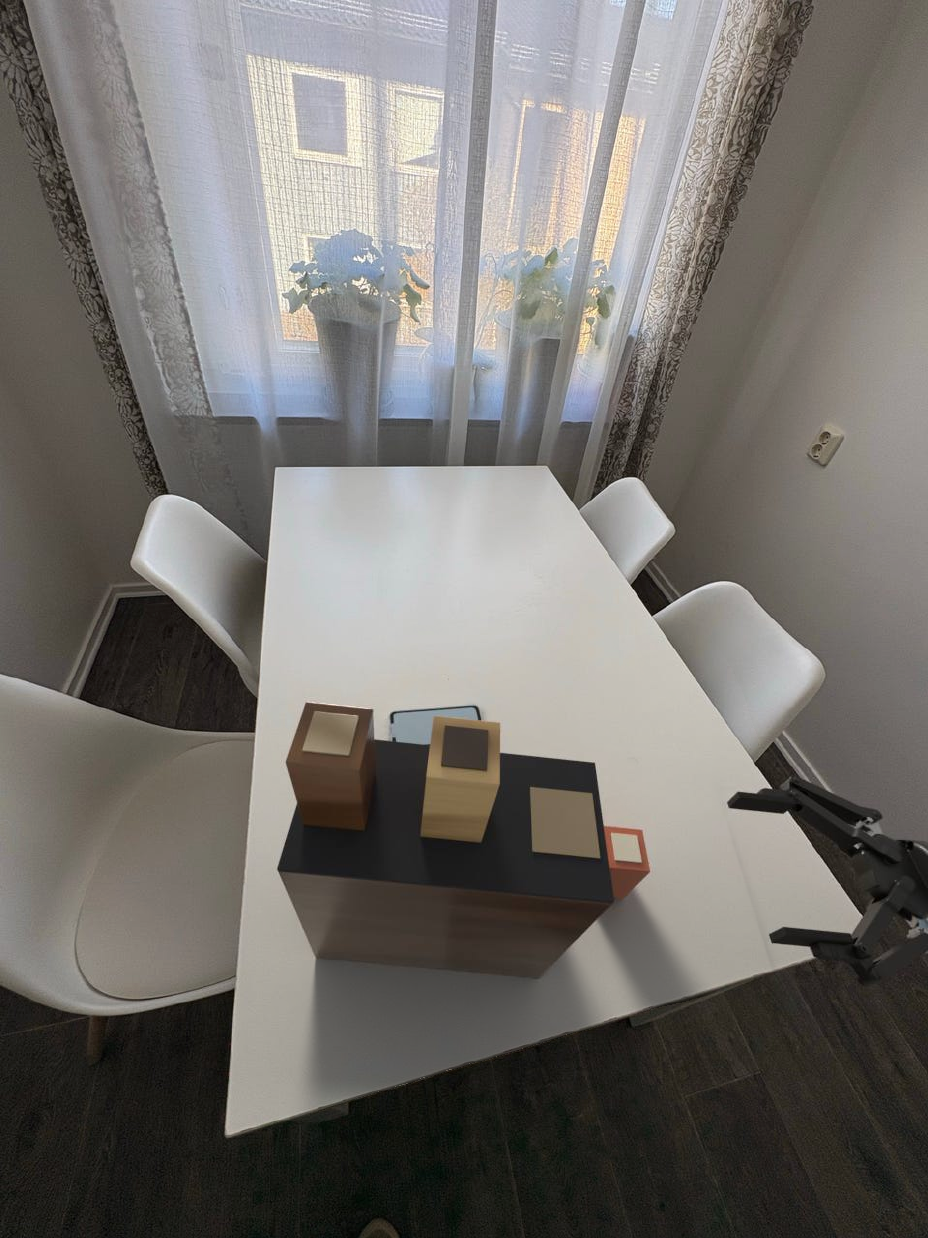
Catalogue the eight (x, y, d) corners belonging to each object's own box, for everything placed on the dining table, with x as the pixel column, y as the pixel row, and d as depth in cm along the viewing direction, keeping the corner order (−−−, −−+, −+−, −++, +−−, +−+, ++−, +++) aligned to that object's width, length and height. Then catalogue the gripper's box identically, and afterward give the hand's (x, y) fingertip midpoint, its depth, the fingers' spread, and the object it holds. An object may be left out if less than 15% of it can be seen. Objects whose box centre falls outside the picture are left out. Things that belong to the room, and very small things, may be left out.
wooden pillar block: (481, 843, 42) (500, 783, 34) (420, 836, 42) (426, 775, 34) (483, 785, 45) (500, 720, 38) (426, 779, 45) (433, 713, 38)
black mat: (612, 904, 40) (615, 902, 39) (277, 871, 39) (276, 868, 39) (594, 764, 48) (595, 761, 48) (318, 735, 48) (317, 732, 47)
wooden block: (364, 831, 41) (359, 768, 34) (302, 825, 41) (284, 760, 34) (376, 774, 45) (373, 707, 38) (319, 768, 45) (305, 699, 38)
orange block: (623, 899, 67) (651, 871, 59) (585, 895, 66) (608, 867, 59) (617, 859, 70) (642, 828, 63) (581, 856, 70) (602, 824, 63)
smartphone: (488, 742, 80) (391, 751, 77) (487, 745, 81) (391, 754, 78) (478, 703, 85) (388, 710, 82) (478, 707, 86) (388, 714, 83)
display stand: (539, 979, 59) (612, 904, 40) (315, 958, 59) (277, 871, 39) (535, 870, 68) (594, 764, 48) (339, 851, 67) (318, 735, 48)
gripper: (998, 1035, 48) (778, 1015, 48) (866, 787, 66) (705, 770, 65) (1072, 1024, 43) (826, 1001, 42) (908, 758, 61) (733, 739, 60)
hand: (752, 861), depth 54 cm, fingers open, 13 cm apart
